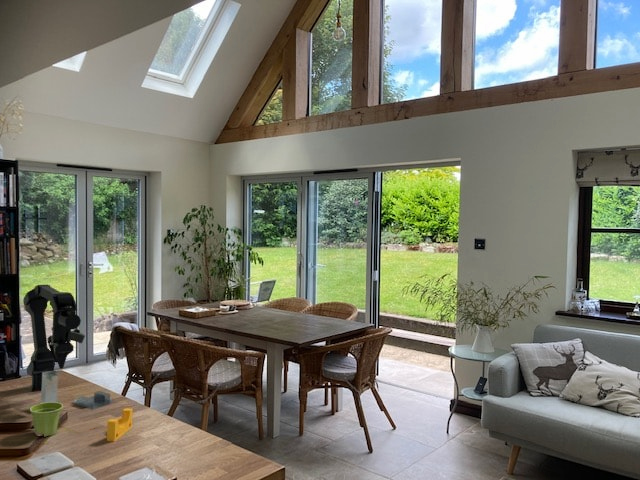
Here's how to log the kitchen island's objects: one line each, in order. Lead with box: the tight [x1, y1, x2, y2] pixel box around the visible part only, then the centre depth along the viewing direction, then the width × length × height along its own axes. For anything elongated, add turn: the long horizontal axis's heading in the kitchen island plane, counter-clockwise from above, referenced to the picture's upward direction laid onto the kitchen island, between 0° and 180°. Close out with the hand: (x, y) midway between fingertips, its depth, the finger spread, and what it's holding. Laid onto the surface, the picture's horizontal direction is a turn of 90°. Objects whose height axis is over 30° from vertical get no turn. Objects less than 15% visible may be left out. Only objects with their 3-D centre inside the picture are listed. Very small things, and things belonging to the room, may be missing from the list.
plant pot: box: [29, 401, 64, 438], centre depth 163 cm, size 9×9×9 cm
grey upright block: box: [40, 370, 59, 404], centre depth 181 cm, size 7×4×13 cm, turn 47°
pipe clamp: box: [106, 407, 134, 442], centre depth 166 cm, size 12×4×6 cm, turn 175°
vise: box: [71, 390, 116, 411], centre depth 190 cm, size 12×10×4 cm
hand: (59, 365), depth 195 cm, fingers open, 9 cm apart
